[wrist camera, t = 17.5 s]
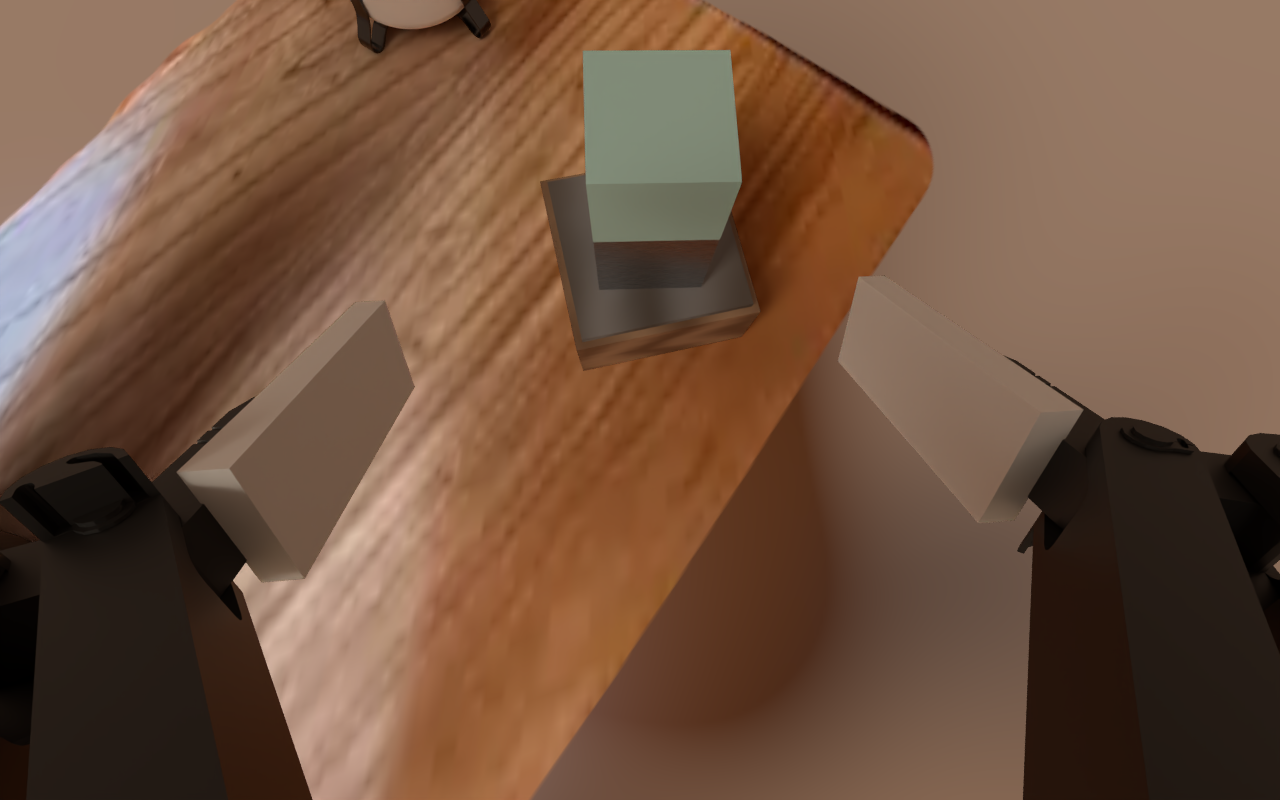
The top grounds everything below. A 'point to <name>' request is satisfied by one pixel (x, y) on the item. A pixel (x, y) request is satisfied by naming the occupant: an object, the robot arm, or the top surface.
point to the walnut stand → (642, 292)
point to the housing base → (653, 263)
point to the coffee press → (414, 17)
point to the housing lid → (660, 144)
